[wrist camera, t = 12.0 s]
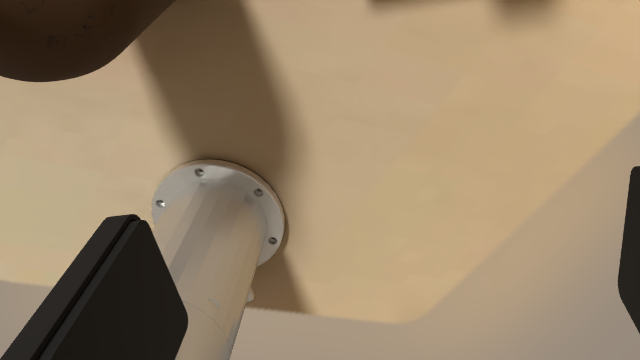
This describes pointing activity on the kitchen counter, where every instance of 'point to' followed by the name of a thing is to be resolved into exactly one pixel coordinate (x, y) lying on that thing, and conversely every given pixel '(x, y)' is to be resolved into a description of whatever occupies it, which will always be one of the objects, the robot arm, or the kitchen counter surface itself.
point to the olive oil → (68, 35)
